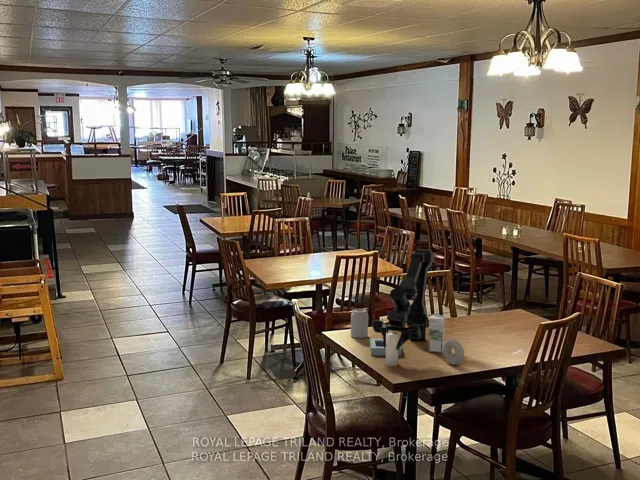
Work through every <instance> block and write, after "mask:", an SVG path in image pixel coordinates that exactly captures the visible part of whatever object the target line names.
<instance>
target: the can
mask: <svg viewBox="0 0 640 480" xmlns="http://www.w3.org/2000/svg"><path fill="white" fill-rule="evenodd" d="M368 335H369V313H368V310H367V309H365V308H353V309H352V312H351V313H350V336H351V337H352V338H354V339H357V340H358V339H359V340H361V339H362V340H363V339H365V338H367V337H368Z"/></svg>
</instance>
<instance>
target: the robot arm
mask: <svg viewBox="0 0 640 480" xmlns="http://www.w3.org/2000/svg"><path fill="white" fill-rule="evenodd" d="M410 258H411V260H410V263H409V266H408V269H407V272H406V275H405V278H404V279H403V280H402V281H400V282H399V285H397V286H396V287H395V288H393V289H392V290H391V291H390V292H389V297H390V299H391V302H392V304H393V305H394V310H392V311H390V310H389V311H387V315H386V320H387V321H388V324H386V323H385V322H384V320H378V319H374V320H373V321H372V322H371V327H372V329H373V331H374V332H375V333H376V334H377V333H378V334H380V335H382V339H383V343H384V348H386V333H387V332H399V333H400V335H399V342H398V344H397V350H399V348H400V347H401V348H402V346H403V345H404V344H405V343H406V342H408V340H410V342H426V341H427V340H426V331H427V329H426V328H429V319H430V317H429V316H428V314H427V308H426V305H425V296H426V288H427V280H428V270H430V268H431V267H432V265H433V262H434V260H435V252H433V250H432V249H425V248H416V250H414V251H412V252H411V255H410ZM410 301H412V303H410ZM405 326H406V327H405Z"/></svg>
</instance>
